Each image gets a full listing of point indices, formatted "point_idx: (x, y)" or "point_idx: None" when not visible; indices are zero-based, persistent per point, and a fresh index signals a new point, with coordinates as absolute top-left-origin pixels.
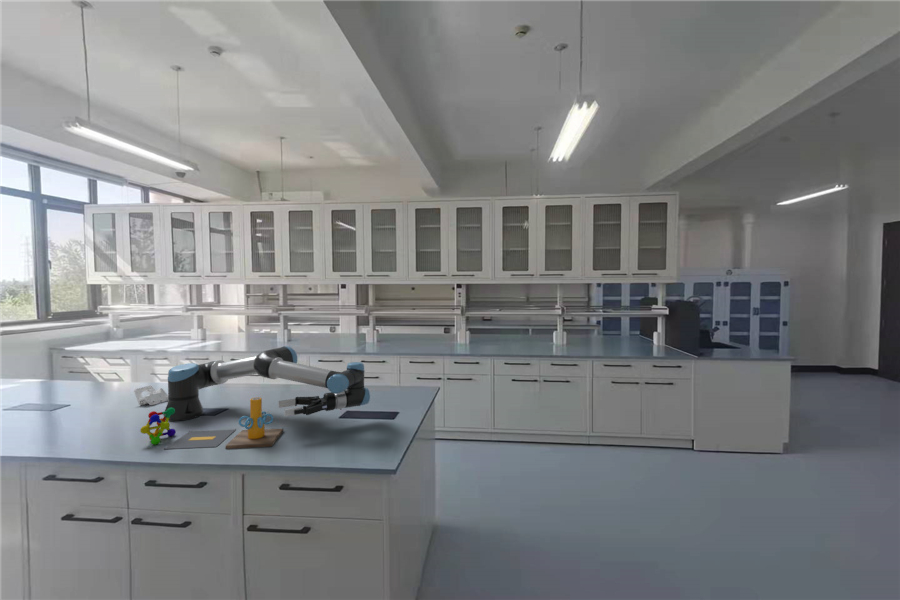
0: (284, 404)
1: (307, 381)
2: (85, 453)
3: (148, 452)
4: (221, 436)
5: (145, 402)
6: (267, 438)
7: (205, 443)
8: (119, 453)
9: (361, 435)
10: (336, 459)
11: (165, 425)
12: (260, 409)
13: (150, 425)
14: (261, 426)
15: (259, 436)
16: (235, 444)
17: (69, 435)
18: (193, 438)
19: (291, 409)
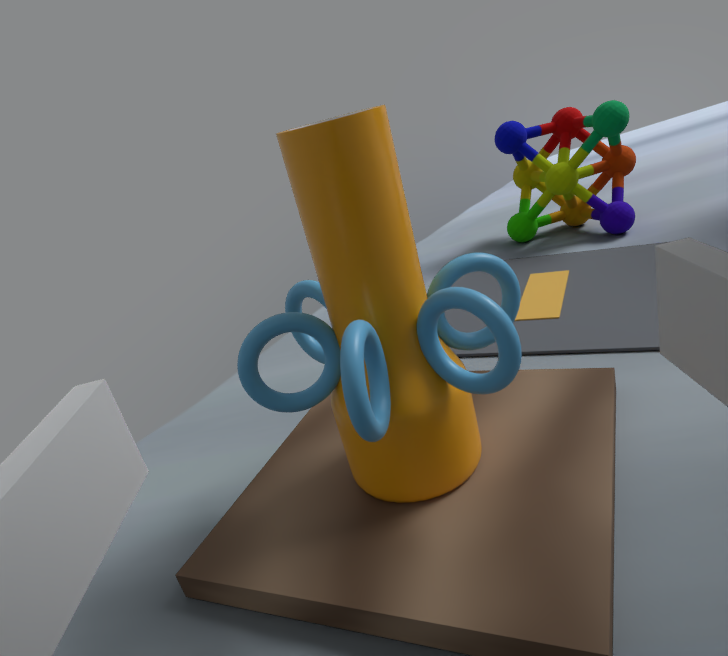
0: (716, 350)
1: None
2: (499, 200)
3: (445, 256)
4: (555, 332)
5: None
6: (321, 535)
7: (461, 319)
8: (468, 228)
9: None
10: None
11: (547, 178)
12: (321, 247)
13: (519, 163)
14: (254, 398)
15: (351, 470)
16: (324, 401)
17: (659, 145)
18: (550, 276)
19: (24, 451)
